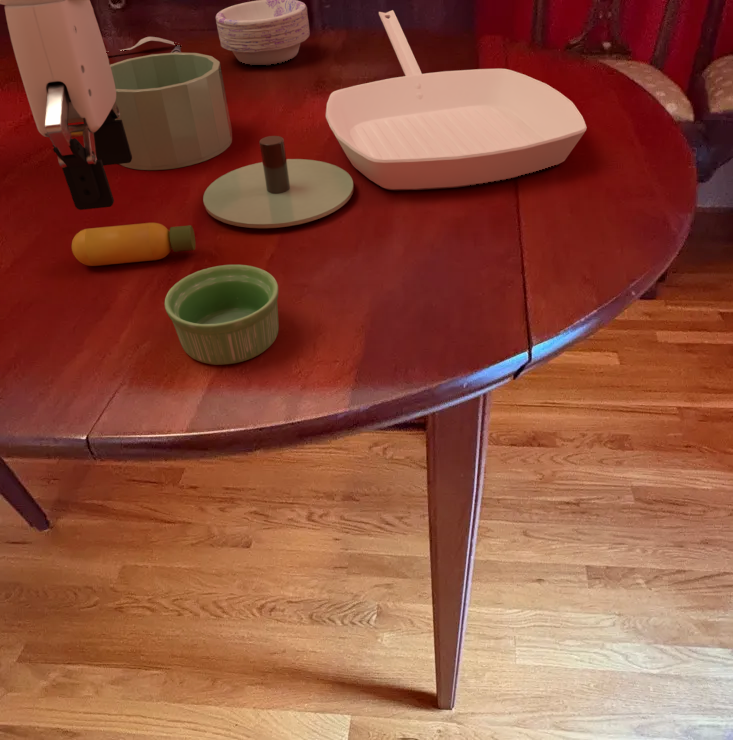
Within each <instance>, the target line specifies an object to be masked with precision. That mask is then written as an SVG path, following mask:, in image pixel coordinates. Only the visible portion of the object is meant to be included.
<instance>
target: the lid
mask: <svg viewBox="0 0 733 740" xmlns="http://www.w3.org/2000/svg"><path fill="white" fill-rule="evenodd" d="M259 149H260V156H261V162H256V163H252V164H248V165H245V166H244V165H243V166H242V167H239V168H235V169H234V170H231V171H228V172H227V173H225V174H223V175H221V176H219V177H218V178H216V179H215V180H214V181H213V182H211V183H210V184H209V185H208V186H207V188H206V189H205V191H204V193H203V196H202V202H203V207H204V209H205V211H206V212H207V213H208V215H210V216H211V217H212V218H214V219H215V220H217V221H219V222H222V223H223V224H228V225H231V226H234V227H241V228H249V229H277V228H285V227H286V228H287V227H292V226H298V225H303V224H306V223H310V222H313V221H317V220H318V219H319V220H320V219H322V218H324V217H327V216H329V215H331V214H332V213H335V212H336V211H338V210H339V209H341V208H342V207H343V206H345V205H346V204H347V203H348V202H349V200H351V198H352V195H353V193H354V191H355V188H354V187H355V186H354V180H353V178H352V176H351V175H350V174H349V172H347V170H345V169H343V168H341V167H340V166H338V165H335V164H332V163H329V162H326V161H322V160H321V161H320V160H314V159H306V158H305V159H303V158H287V153H286V147H285V139H284V137H282V136H280V135H268V136H265V137H262V138H260V139H259Z"/></svg>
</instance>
